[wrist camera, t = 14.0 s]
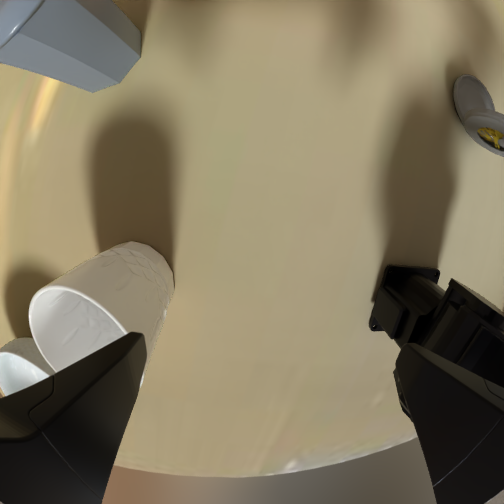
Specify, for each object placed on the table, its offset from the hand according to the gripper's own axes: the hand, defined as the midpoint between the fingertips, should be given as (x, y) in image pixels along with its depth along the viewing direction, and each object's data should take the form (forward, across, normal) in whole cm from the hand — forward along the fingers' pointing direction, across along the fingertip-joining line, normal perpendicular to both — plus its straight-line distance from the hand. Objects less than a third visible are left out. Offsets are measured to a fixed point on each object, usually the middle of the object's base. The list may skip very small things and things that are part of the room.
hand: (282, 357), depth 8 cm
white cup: (+13, +10, +4) cm, 17 cm away
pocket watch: (+13, -19, -15) cm, 28 cm away
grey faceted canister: (+13, +14, -15) cm, 24 cm away
